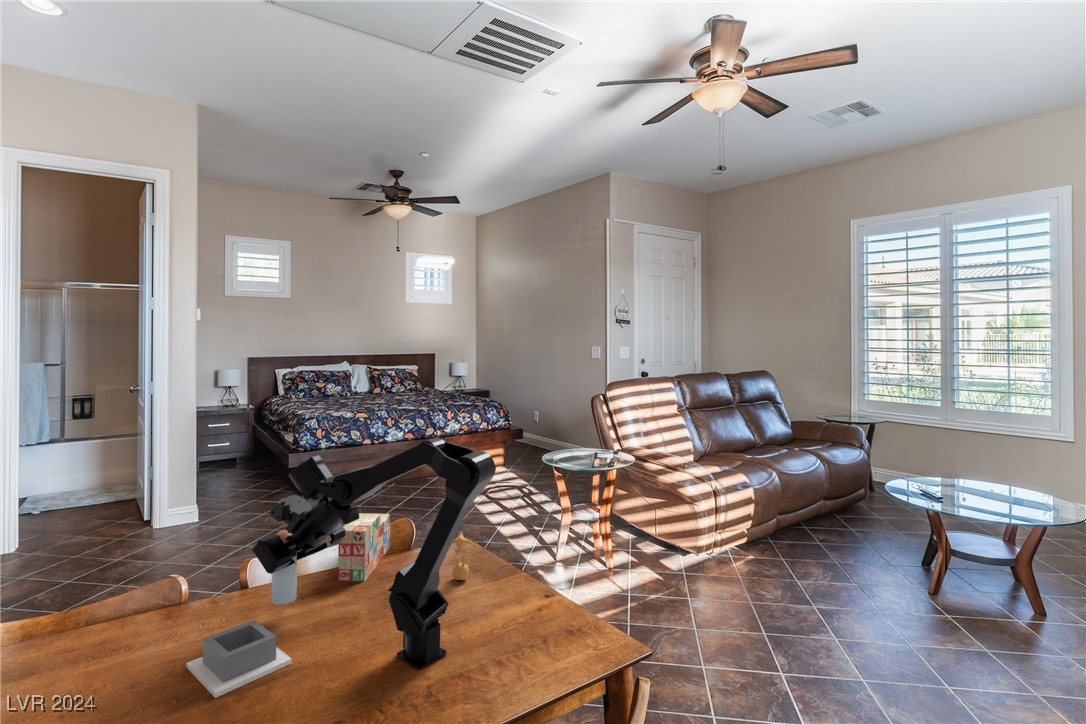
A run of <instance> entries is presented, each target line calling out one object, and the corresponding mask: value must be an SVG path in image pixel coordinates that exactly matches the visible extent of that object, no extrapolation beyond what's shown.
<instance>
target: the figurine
mask: <svg viewBox="0 0 1086 724" xmlns="http://www.w3.org/2000/svg"><path fill="white" fill-rule="evenodd" d="M452 544H455V546H456V547H455V548H454V555H455V560H456V564H455V565H453V567H452V570H451V573H452V577H453V578H454V579H455V580H456V581H458V580H462V581H465V580H466V579H467V578H468V576H469V575H470V568H469V566H468V565H467V564H466V563H465V560H466V559H467V558H466V555H467V548H466V547H465V544H469V545H471V546H473V547H474V549H475V550H476V552H479V547H477V546H476V544H475V542H473V541H471V540H469V539H467V538H466V537H464V535H463V532H459V533H458V535H457V537H456V538H454V540H453V542H452ZM460 553H461V554H462V555H463V556H462V561H461V562H460V561H459V559H460V558H459V555H460Z"/></svg>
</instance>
